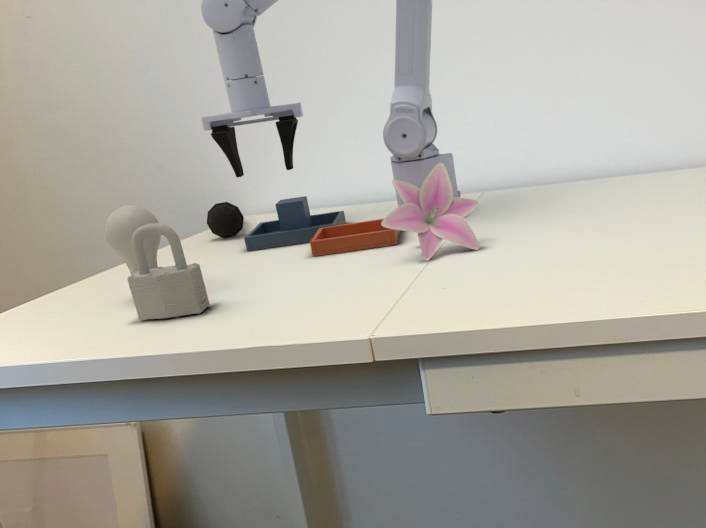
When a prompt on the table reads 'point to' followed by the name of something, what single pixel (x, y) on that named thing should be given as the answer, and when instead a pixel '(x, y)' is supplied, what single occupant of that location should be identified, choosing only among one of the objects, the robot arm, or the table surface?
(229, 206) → the faceted black orb
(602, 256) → the table surface
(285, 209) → the blue block
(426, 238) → the lily
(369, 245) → the terracotta tray
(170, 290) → the padlock
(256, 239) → the slate tray
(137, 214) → the lightbulb
